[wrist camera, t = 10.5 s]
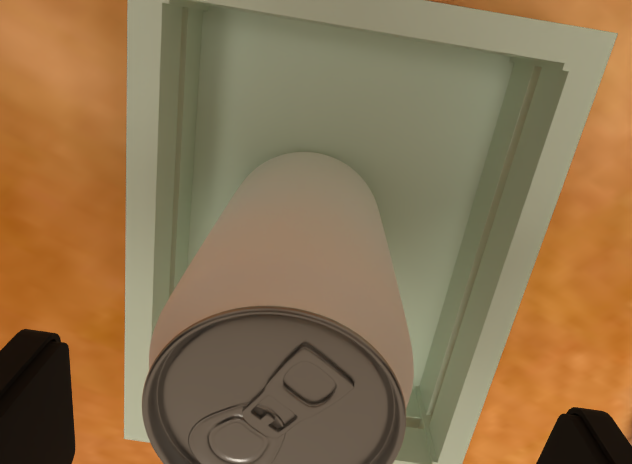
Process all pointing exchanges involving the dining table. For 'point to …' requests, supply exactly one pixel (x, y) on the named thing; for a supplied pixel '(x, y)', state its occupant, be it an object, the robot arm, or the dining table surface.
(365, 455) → the can
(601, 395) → the dining table surface
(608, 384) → the dining table surface
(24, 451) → the robot arm
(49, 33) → the dining table surface
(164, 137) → the tray
